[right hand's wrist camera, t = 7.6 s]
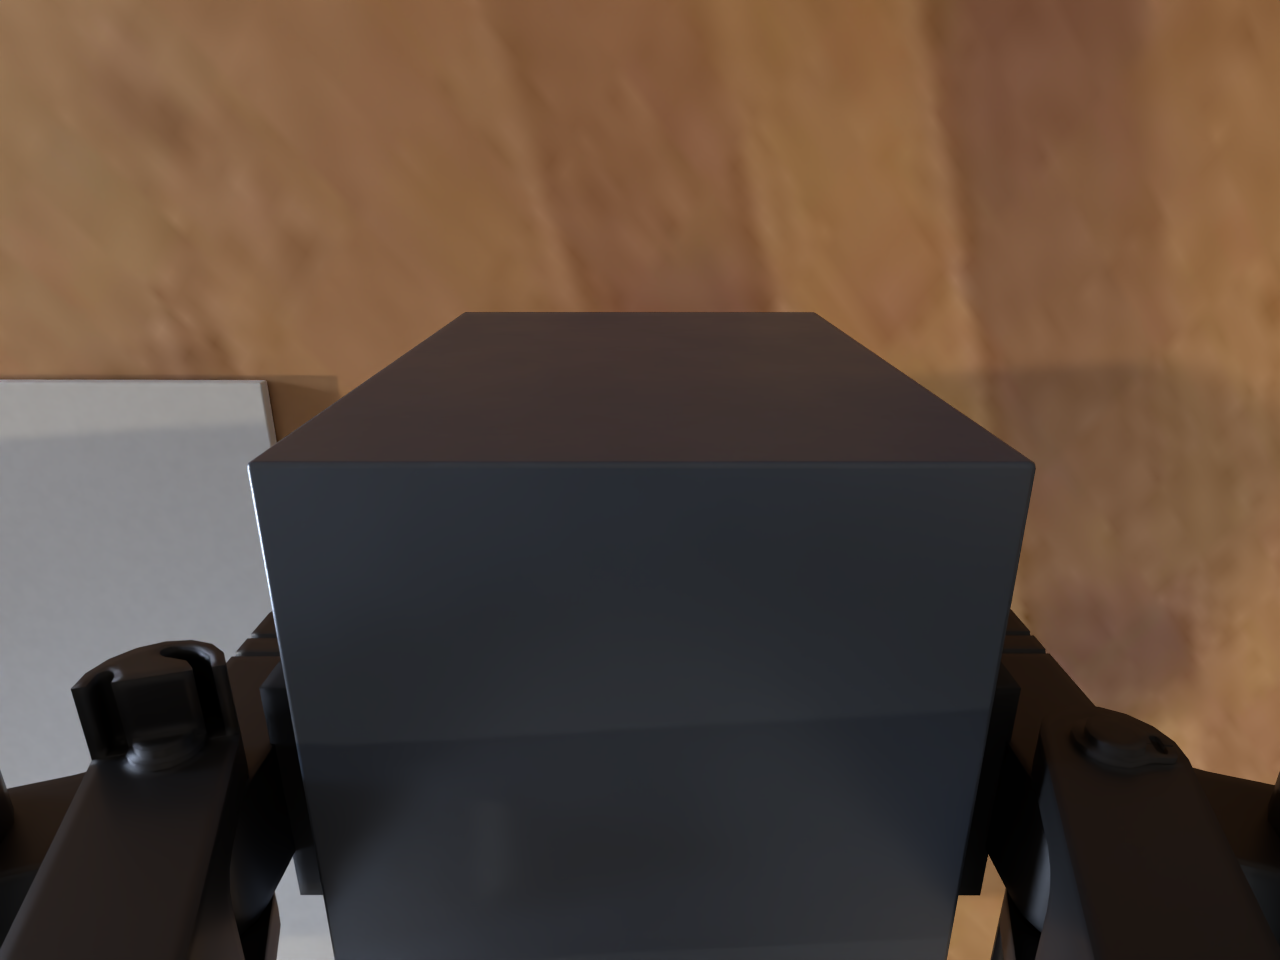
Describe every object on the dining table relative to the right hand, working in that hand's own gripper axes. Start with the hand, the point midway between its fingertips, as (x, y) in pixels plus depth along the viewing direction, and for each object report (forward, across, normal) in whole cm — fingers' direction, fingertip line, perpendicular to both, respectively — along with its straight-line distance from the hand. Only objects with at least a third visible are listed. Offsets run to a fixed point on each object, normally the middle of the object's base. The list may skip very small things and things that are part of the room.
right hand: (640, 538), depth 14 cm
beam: (0, 0, -11) cm, 11 cm away
